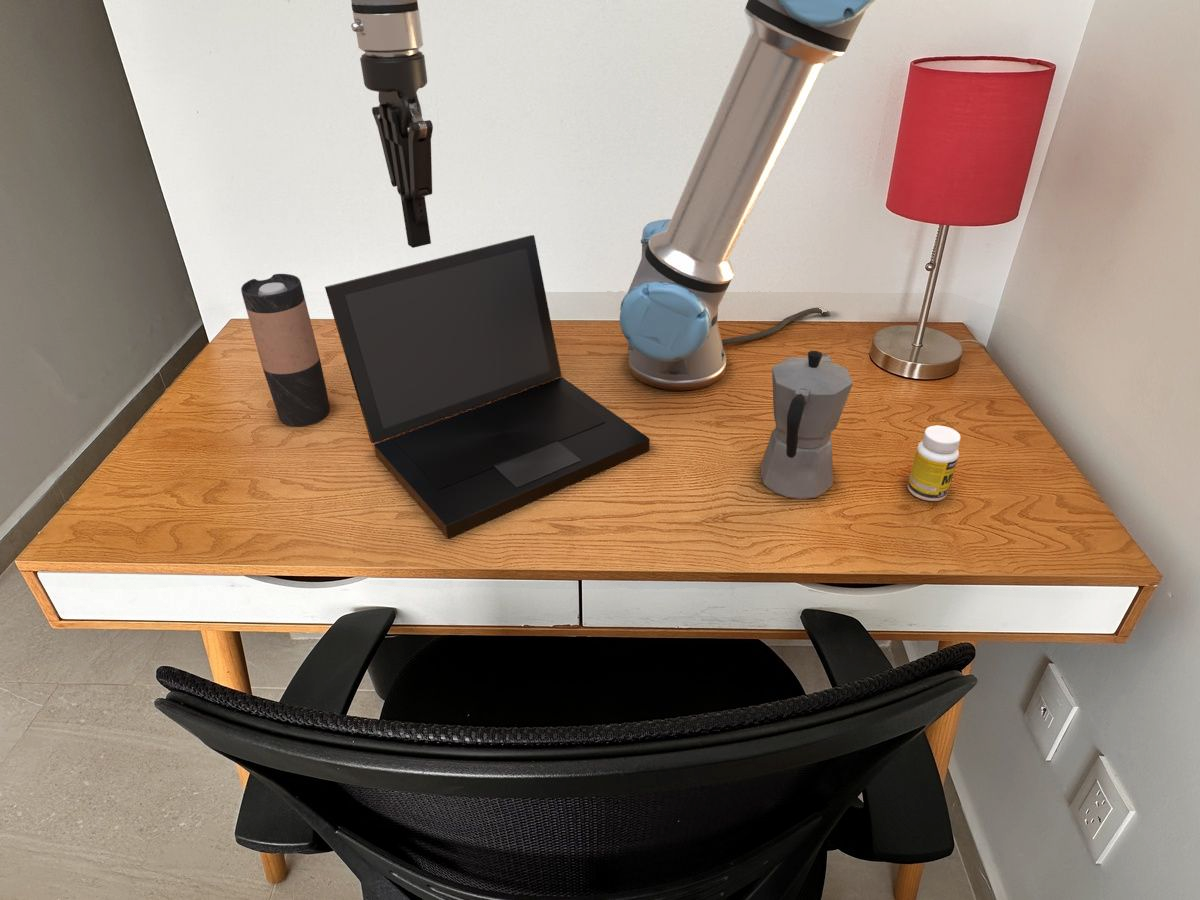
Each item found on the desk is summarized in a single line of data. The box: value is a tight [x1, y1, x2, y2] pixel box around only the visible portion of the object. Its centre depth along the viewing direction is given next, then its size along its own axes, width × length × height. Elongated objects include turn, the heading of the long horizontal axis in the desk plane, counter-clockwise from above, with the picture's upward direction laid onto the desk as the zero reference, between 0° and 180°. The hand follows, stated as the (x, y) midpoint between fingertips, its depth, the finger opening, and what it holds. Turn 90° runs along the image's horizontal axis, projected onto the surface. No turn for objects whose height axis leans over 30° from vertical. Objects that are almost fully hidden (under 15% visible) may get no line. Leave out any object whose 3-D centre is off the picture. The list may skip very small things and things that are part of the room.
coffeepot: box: [759, 350, 854, 500], centre depth 95 cm, size 15×9×18 cm, turn 155°
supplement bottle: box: [907, 424, 961, 502], centre depth 96 cm, size 5×5×8 cm
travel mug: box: [240, 273, 331, 428], centre depth 110 cm, size 8×8×20 cm
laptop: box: [373, 376, 651, 539], centre depth 106 cm, size 21×30×2 cm
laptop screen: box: [324, 234, 562, 445], centre depth 109 cm, size 21×30×1 cm
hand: (419, 244), depth 108 cm, fingers closed
